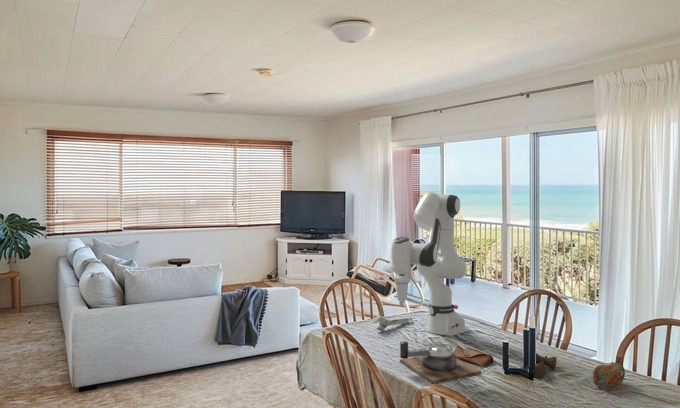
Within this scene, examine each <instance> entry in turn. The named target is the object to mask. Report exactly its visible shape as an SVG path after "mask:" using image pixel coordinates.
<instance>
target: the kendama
mask: <svg viewBox="0 0 680 408" xmlns="http://www.w3.org/2000/svg"><path fill="white" fill-rule="evenodd" d="M557 361H558V359H557V357H556V356H551V357H548V356H547V355H545V356H542V355H540V354H538V353H537V352H536V364H535V377H534V378H536V379H542V378H544V376H545V372H546V367H547V368H549V369H551V370H552V371H555V370H556V367H557V363H558V362H557Z"/></svg>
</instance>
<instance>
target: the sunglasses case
mask: <svg viewBox="0 0 680 408" xmlns="http://www.w3.org/2000/svg"><path fill="white" fill-rule="evenodd" d="M453 354H455V355H456V357H457V358H458V359H460V360H462V361H464V362H466V363H467V364H470V365H474V366H477V367H480V368H487V367H488V366H490V365H492V364H493V363H494V361H495V360H494V357H493V356H492V355H490V354H487V353H483V352H479V351H476V350H472V349H468V348H464V347H461V346H459V345H457V346H456V347H455V349H453Z"/></svg>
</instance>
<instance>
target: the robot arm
mask: <svg viewBox="0 0 680 408" xmlns="http://www.w3.org/2000/svg"><path fill="white" fill-rule="evenodd" d="M416 203H417V204H416V207H415V208H414V211H413V221H414V222H415V224H416V225H417V226H418V227H419V228H420V229H422V230H425V231H427V232H429V235H428V241H427V242H425V243H417V242H416V243H415V242H411V240H410V238H408V237H406V236H405V237H404V236H400V237H396V238H394V239H393V240H392V244H391V252H390V253H391V255H390V259H391V268H390V270H391V271H390V272H391V273H390V274H391V277H390V278H391V279H392V280H393V282H394V283H395V284H394V285H395V287H396V296H397V297H396V298H397V301H398V303H399V306H400V307H404V306H405V304H404V303H405V302H406V301H407V298H408V290H409V283H410V281H411V279H412V265H414V266H415V265H416V270H417V271H418V273H419V275H421V277H423V278H424V280H425V281H426V283H427V285H428V288H429V305H428V311H429V313H428V314H429V316H428V324H427V327H426V331H427V332H429V333H431V334H434V335H440V336H441V335H442V336H451V337H452V336H456V335H459V334H462V333H463V334H464V333H467V332H470V327H468V326H467V325H466V322H465V319H464V317H462V316H461V315H460V314H459V313H458V312H456V310H458V309H459V305H458V304H453V303H452V301H453V299H452V298H453V297H452V296H453V291H452V289H451V287H450V286H449V285H447V284H446V283H444V282H443V280H442V279H449V280H459V279H463V278H464V277H465V275H466V274H467V271H468V270H467V267H468V266H467V264H466V262H465V261H464V260H463V259H462V258H461V257H460V256H459V254H458V253H457V250H456V248H455V219H454V217H455V216H457V215H458V214H459V212H460V210H461V201H460V198H459V197H458V195H455V194H445V193H444V194H442V193H441V194H440V193H439V194H437V193H436V192H433V191H429V192H426V193H424V195H422V196H420V197H419V198H418V199H417V202H416ZM439 251H440V252H441V255H442V256H439Z"/></svg>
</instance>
